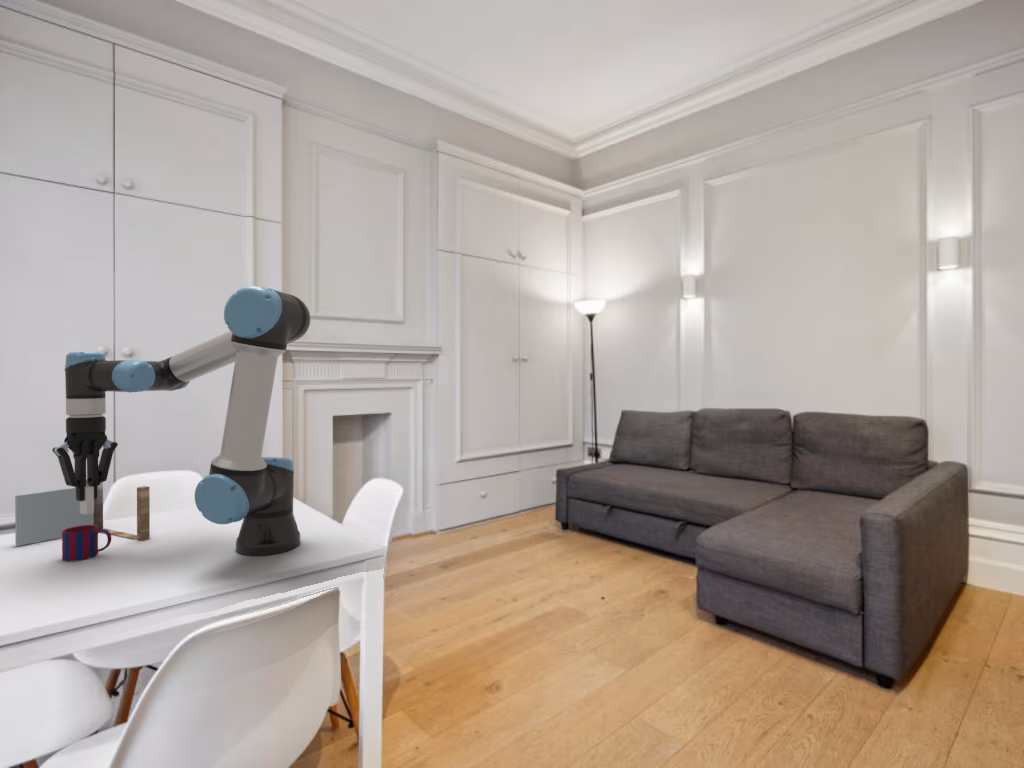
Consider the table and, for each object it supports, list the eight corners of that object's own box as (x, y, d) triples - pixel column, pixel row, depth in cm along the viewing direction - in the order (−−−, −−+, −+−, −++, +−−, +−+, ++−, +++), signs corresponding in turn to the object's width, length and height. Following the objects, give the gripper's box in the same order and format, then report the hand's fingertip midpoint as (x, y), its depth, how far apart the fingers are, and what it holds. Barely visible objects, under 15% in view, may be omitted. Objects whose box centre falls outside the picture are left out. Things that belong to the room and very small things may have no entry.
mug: (77, 551, 132) (77, 524, 132) (118, 552, 132) (118, 524, 132) (54, 561, 125) (54, 532, 125) (97, 561, 125) (97, 532, 125)
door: (89, 529, 149) (89, 484, 149) (93, 530, 148) (93, 485, 148) (13, 543, 136) (13, 494, 136) (17, 545, 135) (16, 496, 135)
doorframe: (150, 538, 142) (150, 482, 142) (141, 541, 140) (140, 484, 140) (91, 526, 153) (91, 474, 153) (82, 528, 151) (81, 476, 151)
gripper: (106, 413, 136) (107, 505, 136) (44, 417, 124) (45, 518, 124) (124, 414, 133) (125, 508, 133) (62, 418, 121) (63, 521, 121)
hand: (86, 513), depth 129 cm, fingers closed
